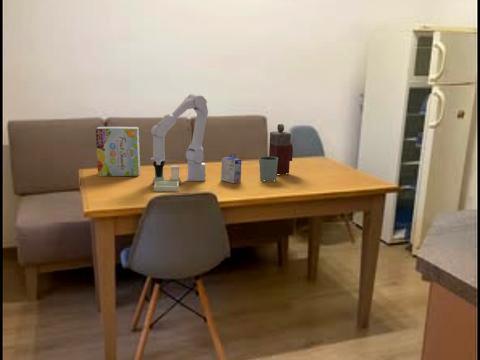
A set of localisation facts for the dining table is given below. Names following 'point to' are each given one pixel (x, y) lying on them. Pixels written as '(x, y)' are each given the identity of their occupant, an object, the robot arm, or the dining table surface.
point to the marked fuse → (159, 177)
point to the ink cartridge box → (231, 169)
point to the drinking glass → (268, 168)
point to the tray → (166, 186)
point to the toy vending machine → (281, 149)
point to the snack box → (118, 151)
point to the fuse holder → (167, 180)
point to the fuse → (174, 172)
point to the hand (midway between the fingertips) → (159, 175)
